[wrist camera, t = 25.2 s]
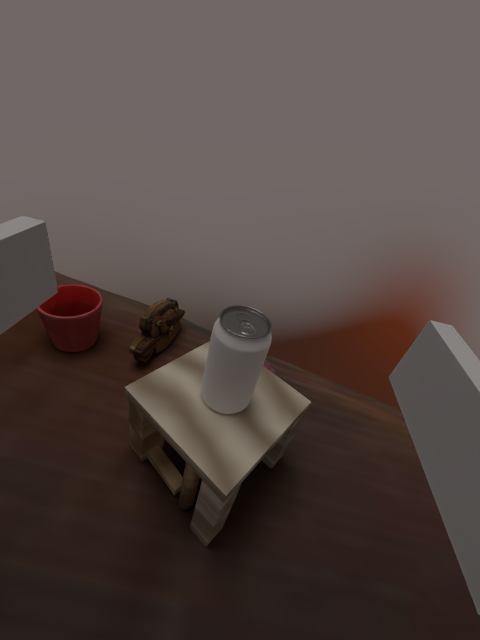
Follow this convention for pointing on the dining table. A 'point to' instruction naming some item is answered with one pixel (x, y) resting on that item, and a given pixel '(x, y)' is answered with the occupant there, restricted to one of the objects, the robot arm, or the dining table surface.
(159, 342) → the wooden carving
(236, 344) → the can
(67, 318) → the flower pot
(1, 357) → the dining table surface
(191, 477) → the gate leg
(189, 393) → the stool
